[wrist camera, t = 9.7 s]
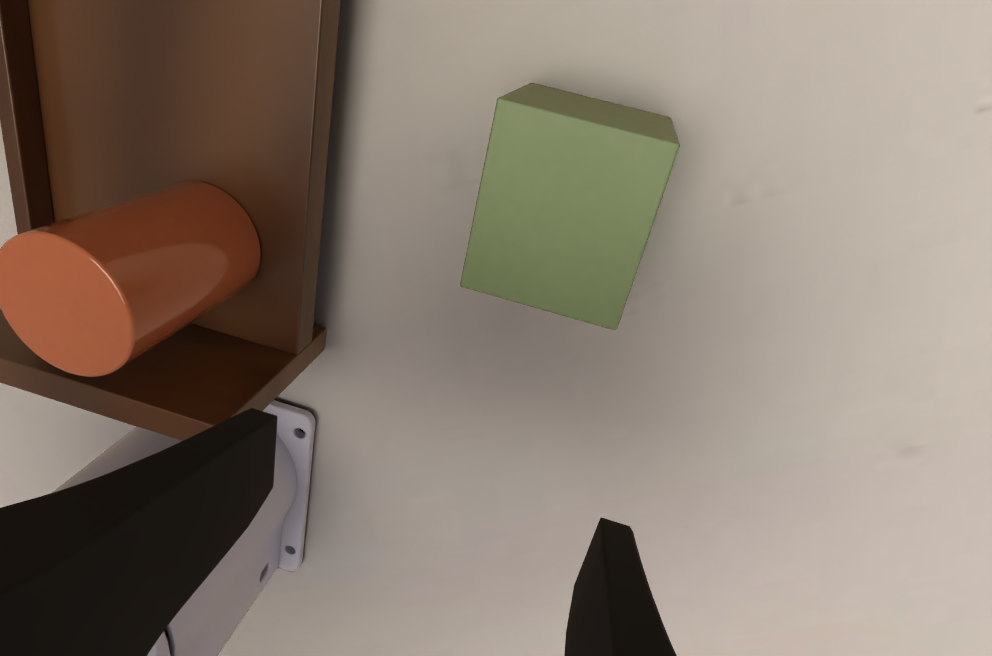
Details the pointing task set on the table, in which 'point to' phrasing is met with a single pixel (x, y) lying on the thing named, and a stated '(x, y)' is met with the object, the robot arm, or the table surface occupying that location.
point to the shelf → (177, 176)
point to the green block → (567, 202)
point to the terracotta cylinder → (125, 275)
